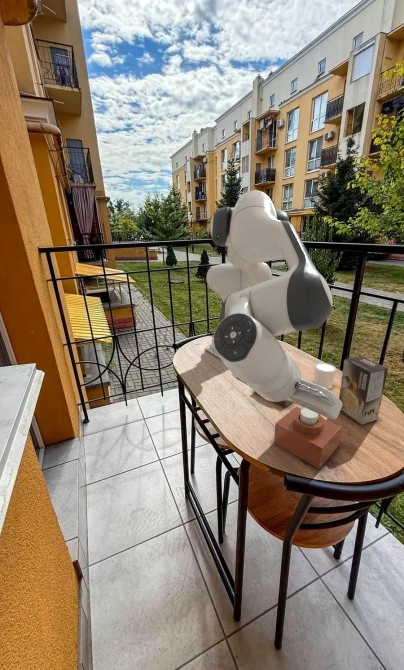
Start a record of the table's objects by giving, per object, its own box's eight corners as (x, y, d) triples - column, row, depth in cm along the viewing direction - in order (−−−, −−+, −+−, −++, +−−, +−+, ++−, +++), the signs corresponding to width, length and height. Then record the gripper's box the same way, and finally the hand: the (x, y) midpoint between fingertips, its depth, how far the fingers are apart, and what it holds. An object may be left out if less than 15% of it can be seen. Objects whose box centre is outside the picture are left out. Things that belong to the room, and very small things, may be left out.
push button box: (273, 442, 72) (275, 416, 69) (294, 424, 78) (296, 400, 75) (319, 469, 63) (323, 441, 61) (338, 446, 70) (342, 420, 67)
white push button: (296, 419, 68) (297, 412, 67) (305, 412, 71) (305, 405, 70) (312, 427, 65) (313, 420, 65) (320, 419, 68) (321, 412, 67)
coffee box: (379, 419, 78) (390, 368, 73) (361, 425, 76) (371, 373, 71) (352, 402, 86) (361, 355, 81) (336, 406, 85) (343, 359, 79)
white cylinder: (335, 391, 92) (338, 372, 90) (313, 389, 94) (316, 371, 91) (331, 380, 99) (333, 363, 96) (310, 379, 100) (312, 362, 98)
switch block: (254, 392, 94) (254, 382, 92) (271, 381, 100) (271, 371, 98) (285, 407, 85) (286, 396, 84) (302, 394, 91) (303, 383, 90)
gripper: (338, 380, 44) (354, 406, 54) (239, 346, 59) (265, 371, 68) (322, 416, 43) (341, 436, 53) (225, 372, 58) (253, 394, 67)
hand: (297, 399), depth 61 cm, fingers closed
